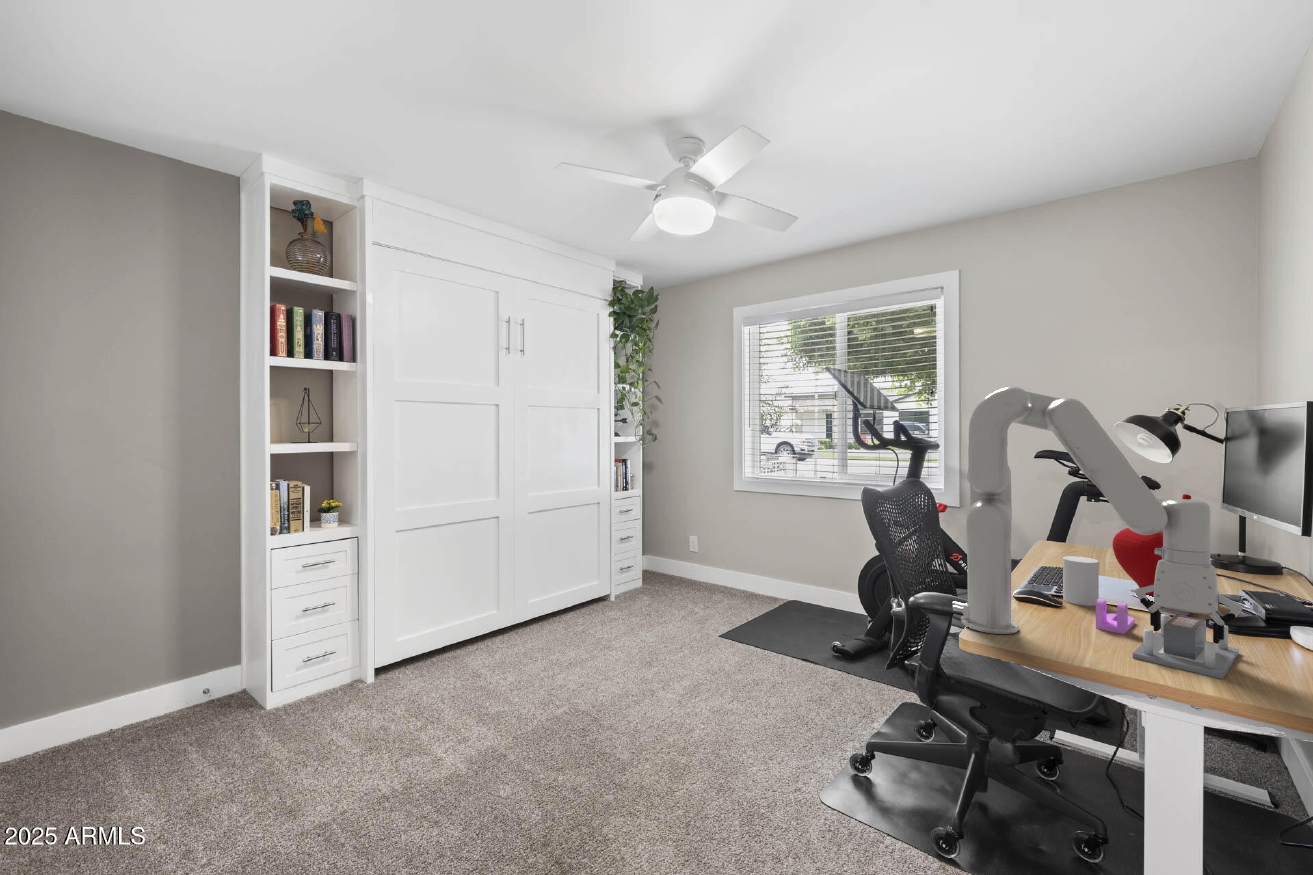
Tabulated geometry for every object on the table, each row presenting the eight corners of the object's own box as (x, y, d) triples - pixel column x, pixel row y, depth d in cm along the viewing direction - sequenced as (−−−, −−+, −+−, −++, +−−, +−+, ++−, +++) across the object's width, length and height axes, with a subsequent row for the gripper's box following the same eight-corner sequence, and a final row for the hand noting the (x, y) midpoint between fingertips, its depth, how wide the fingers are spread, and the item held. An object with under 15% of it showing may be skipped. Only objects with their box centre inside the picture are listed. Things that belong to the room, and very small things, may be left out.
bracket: (1124, 634, 139) (1124, 605, 139) (1095, 628, 143) (1095, 600, 143) (1136, 622, 147) (1136, 595, 147) (1109, 617, 151) (1109, 590, 151)
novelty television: (1173, 591, 173) (1173, 491, 172) (1218, 605, 160) (1218, 496, 159) (1107, 594, 171) (1107, 492, 171) (1147, 607, 158) (1147, 498, 158)
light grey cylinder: (1105, 605, 160) (1105, 562, 160) (1076, 605, 161) (1076, 562, 160) (1084, 597, 169) (1084, 556, 168) (1056, 597, 169) (1056, 556, 169)
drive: (1163, 652, 124) (1163, 624, 124) (1175, 640, 131) (1175, 613, 131) (1195, 659, 120) (1195, 630, 120) (1206, 647, 127) (1206, 619, 127)
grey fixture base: (1132, 657, 125) (1132, 629, 125) (1155, 635, 137) (1155, 610, 137) (1222, 679, 114) (1222, 648, 114) (1238, 653, 126) (1238, 626, 126)
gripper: (1130, 553, 130) (1130, 629, 130) (1239, 566, 116) (1239, 651, 116) (1139, 548, 134) (1139, 621, 134) (1245, 561, 121) (1245, 642, 121)
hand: (1186, 635), depth 125 cm, fingers open, 9 cm apart
